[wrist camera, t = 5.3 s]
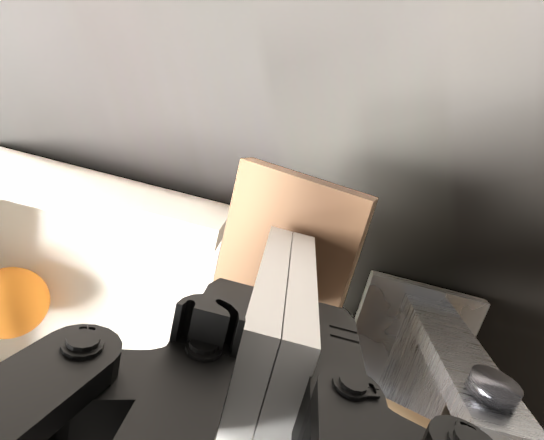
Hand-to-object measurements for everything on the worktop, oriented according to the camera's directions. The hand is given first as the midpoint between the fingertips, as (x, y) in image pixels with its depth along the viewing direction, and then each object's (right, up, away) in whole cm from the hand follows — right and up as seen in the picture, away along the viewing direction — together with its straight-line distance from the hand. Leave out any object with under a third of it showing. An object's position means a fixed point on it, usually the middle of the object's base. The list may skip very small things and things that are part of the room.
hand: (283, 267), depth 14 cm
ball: (-13, -2, +6) cm, 15 cm away
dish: (-10, -3, +8) cm, 13 cm away
